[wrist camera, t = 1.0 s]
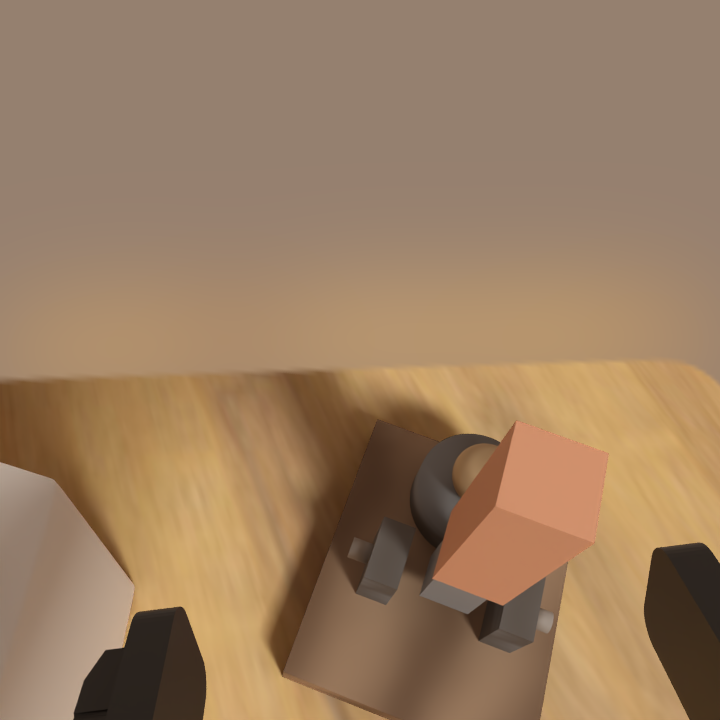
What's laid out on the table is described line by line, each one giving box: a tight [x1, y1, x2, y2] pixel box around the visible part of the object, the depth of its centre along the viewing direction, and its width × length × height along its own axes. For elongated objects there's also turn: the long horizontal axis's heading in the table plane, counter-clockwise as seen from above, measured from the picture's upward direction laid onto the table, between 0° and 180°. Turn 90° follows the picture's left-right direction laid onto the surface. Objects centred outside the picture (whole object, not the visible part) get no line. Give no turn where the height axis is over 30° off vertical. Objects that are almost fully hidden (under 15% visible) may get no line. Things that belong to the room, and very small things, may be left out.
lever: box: [419, 420, 609, 614], centre depth 26 cm, size 3×3×14 cm
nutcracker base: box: [282, 419, 568, 720], centre depth 33 cm, size 12×14×8 cm
